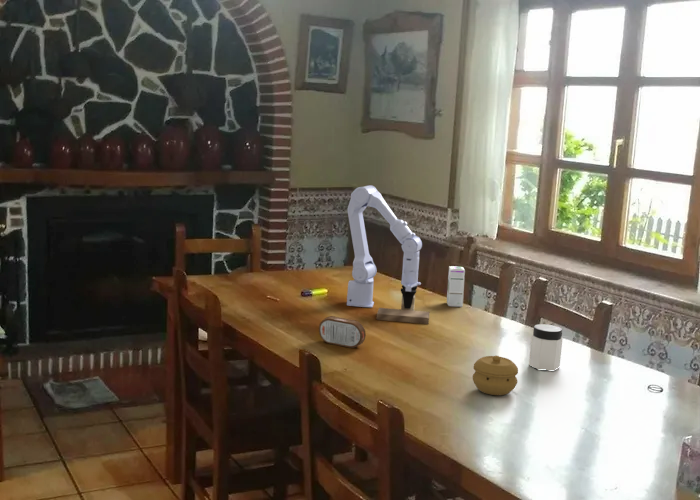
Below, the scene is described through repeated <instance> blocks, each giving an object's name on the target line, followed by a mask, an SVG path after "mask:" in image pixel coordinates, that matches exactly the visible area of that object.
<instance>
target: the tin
mask: <svg viewBox="0 0 700 500" xmlns="http://www.w3.org/2000/svg"><path fill="white" fill-rule="evenodd" d="M318 332H319V333H318V334H319V336H320V338H321V339H322V340H323V341H324V342H326V343H327V344H330V345H334V346H335V345H336V346H340V347H345V348H351V349H352V348H353V349H354V348H357V347H359V346H361V345H362V344H363V343H364V342H365V340H366V336H367V335H366V334H367V333H366V330H365V327H364V326H363V325H362V323H361V322H360V321H357V320H354V319H349V318H346V317H345V318H343V317H339V316H334V315H331V316H330V315H329V316H327V317H326V318H324V319H323V320H322V321H321V322H320V323H319V326H318Z"/></svg>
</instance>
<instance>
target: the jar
mask: <svg viewBox="0 0 700 500" xmlns="http://www.w3.org/2000/svg"><path fill="white" fill-rule="evenodd" d="M530 339H531V340H530V347H529V348H530V349H529V358H528V366H529V365H531V366H533V367H535V368H537V369H546V370H555V369H556V368H558V367H559V366H560V365H561V358H562V357H561V355H562V347H563V340H564V338H563V329H562V327H559V326H557V325H554V324H553V325H552V324H548V323H547V324H543V323H540V324H539V323H538V324H535V325H534V326H533V334H532V335H531V338H530ZM559 368H560V367H559Z"/></svg>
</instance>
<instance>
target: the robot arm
mask: <svg viewBox="0 0 700 500" xmlns="http://www.w3.org/2000/svg"><path fill="white" fill-rule="evenodd" d="M367 207H371V208H373V209H376V210H377V212H378V213H380V214H381V216H382V217H383V218H384V220H385V221H387V223H389V225H390V226H389V230H390V232H391V233H392V234H393V235H394V237H395V238H396V239H397V241H398V242H399V243H400V244H401V250H402V252H403V257H402V272H401V273H402V274H401V282H400V283H401V288H400V293H401V295H403V300H404V308H406V309H410V308H411V305H412V300H413V297H414V295H415V296H416V294H417V289H418V286H421V284H422V283H421V282H420V281H419V279H418V278H419V266H420V251H421V249H422V248H423V242H422V240H421V238H420V236H417V235H416V233H415V232H413V231H412V230H411V229H410V228H409V226H408V222H407V221H405V220H403V219H400V218H399V219H398V217H397V216H396V215H395V213H394V212H393V210H392V209H391V207H390V206H389V204H388V203H387V202H386V200H385V199H384V197H383V196H382V193H380V191H378V189H377V188H376V186H374V185H372V184H371V185H369V184H367V185H365V186H359V187H356V188H355V189H354V190H353V191H352V192H351V194H350V200H349V203H348V206H347V208H346V209H347V215H348V223H349V228H350V235H351V240H352V241H351V242H352V246H353V252H354V258H353V262H352V272H351V276H352V279H353V280H349V281H348V284H347V295H346V306H350V307H360V308H361V307H362V308H373V307H374V304H375V301H373V297H374V281H375V280H374V277H376V274H377V271H378V270H377V266H376V264H375V262H374V259H373V257H372V256H371V255H370V251H369V245H368V239H367V238H368V237H367V231H366V227H365V221H364V214H363V213H364V211H365V210H366V209H367Z"/></svg>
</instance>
